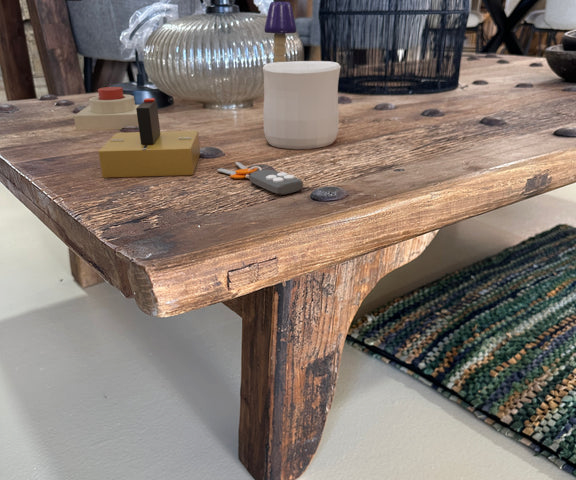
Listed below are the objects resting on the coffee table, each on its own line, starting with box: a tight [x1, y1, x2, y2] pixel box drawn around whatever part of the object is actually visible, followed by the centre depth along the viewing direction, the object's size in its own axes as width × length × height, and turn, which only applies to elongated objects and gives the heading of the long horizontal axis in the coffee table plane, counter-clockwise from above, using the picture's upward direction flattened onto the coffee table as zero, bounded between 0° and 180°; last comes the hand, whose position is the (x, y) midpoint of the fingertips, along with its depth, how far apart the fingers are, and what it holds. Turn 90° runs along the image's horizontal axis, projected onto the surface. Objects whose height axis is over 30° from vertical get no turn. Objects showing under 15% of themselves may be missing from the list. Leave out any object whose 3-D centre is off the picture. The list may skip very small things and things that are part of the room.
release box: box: [73, 93, 140, 131], centre depth 88 cm, size 10×8×4 cm
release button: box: [97, 86, 124, 100], centre depth 87 cm, size 4×4×2 cm
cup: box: [262, 60, 342, 150], centre depth 75 cm, size 10×10×10 cm
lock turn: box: [136, 97, 161, 145], centre depth 65 cm, size 5×1×4 cm, turn 2°
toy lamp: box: [264, 1, 297, 63], centre depth 85 cm, size 5×5×17 cm
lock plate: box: [97, 130, 201, 179], centre depth 67 cm, size 10×9×3 cm
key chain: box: [216, 161, 304, 196], centre depth 61 cm, size 13×4×2 cm, turn 38°
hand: (73, 0), depth 80 cm, fingers closed
